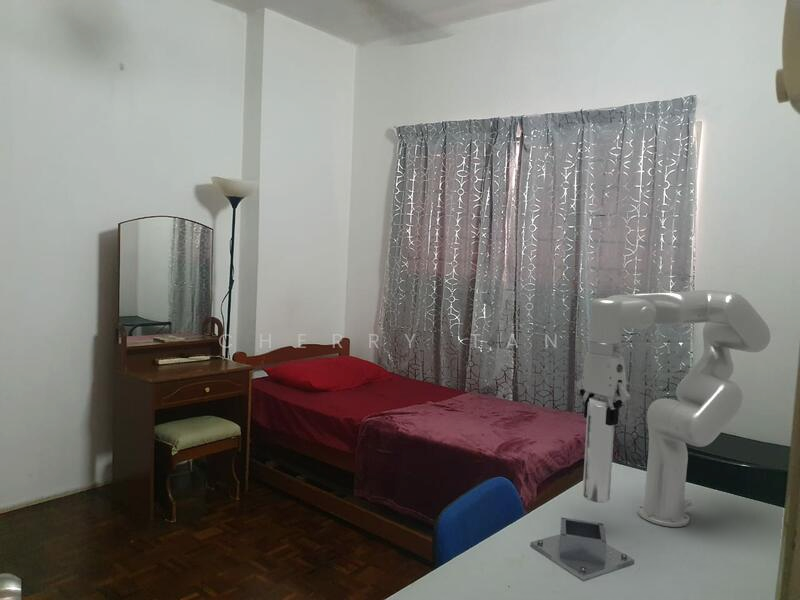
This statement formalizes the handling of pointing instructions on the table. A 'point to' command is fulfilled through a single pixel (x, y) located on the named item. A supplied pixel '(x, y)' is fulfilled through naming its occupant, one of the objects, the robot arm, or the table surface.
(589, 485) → the air filter
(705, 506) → the table surface
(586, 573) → the metal base plate
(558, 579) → the table surface
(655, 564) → the table surface
